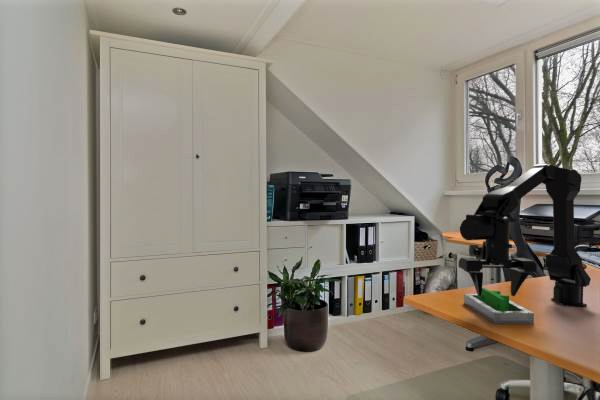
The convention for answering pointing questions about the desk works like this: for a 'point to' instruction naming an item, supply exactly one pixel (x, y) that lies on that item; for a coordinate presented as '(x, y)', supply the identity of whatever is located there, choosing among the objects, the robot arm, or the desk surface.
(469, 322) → the desk surface
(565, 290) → the robot arm
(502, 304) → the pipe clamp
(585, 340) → the desk surface
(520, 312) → the gray rectangular tray
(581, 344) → the desk surface
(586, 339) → the desk surface
